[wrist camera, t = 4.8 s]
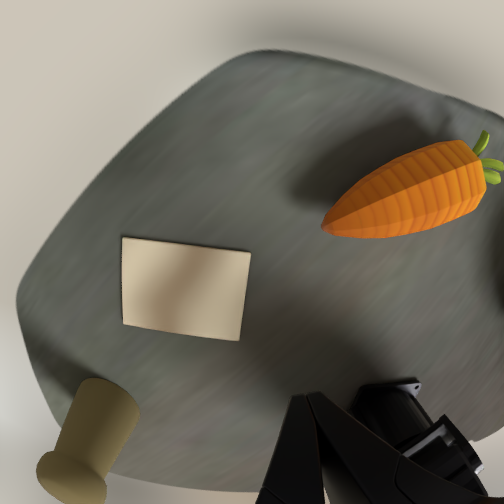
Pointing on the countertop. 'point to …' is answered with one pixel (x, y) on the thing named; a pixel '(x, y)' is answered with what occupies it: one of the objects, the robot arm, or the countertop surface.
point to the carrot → (415, 191)
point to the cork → (88, 443)
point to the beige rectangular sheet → (184, 288)
